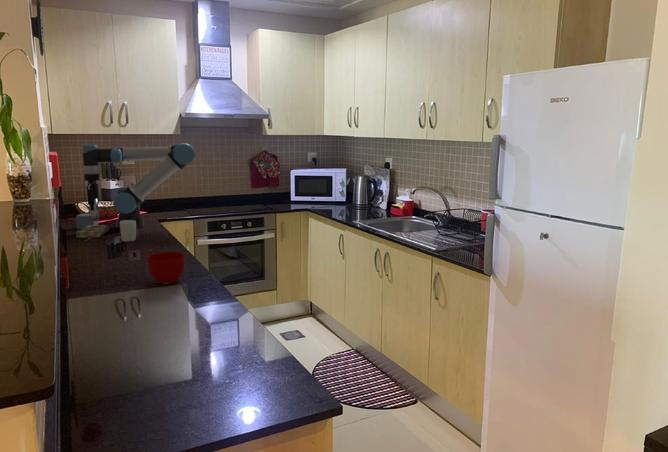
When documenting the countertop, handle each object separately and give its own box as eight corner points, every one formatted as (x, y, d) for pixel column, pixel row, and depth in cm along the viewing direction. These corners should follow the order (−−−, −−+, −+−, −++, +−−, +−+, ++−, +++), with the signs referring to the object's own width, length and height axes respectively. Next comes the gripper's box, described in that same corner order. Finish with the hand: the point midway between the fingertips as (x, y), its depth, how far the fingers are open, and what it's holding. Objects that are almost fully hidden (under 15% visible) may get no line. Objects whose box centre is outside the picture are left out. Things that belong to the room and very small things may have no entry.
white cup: (131, 242, 251) (130, 222, 250) (117, 241, 253) (116, 222, 251) (140, 239, 259) (139, 220, 257) (126, 238, 261) (125, 219, 259)
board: (108, 230, 282) (108, 225, 282) (98, 237, 263) (98, 231, 262) (88, 230, 280) (87, 225, 280) (76, 237, 261) (75, 232, 260)
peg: (100, 219, 278) (98, 198, 276) (97, 220, 273) (96, 199, 271) (91, 219, 277) (90, 198, 275) (89, 220, 273) (87, 199, 271)
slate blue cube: (98, 226, 293) (97, 213, 291) (93, 229, 284) (92, 215, 283) (82, 227, 291) (81, 213, 290) (77, 230, 282) (76, 216, 281)
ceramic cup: (167, 273, 196) (165, 248, 194) (192, 281, 185) (191, 255, 183) (136, 280, 186) (134, 254, 184) (161, 289, 175) (160, 262, 173)
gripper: (94, 174, 263) (97, 217, 267) (103, 172, 280) (106, 213, 284) (78, 174, 261) (82, 218, 266) (89, 172, 278) (92, 213, 282)
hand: (94, 215), depth 275 cm, fingers closed on peg, 4 cm apart
